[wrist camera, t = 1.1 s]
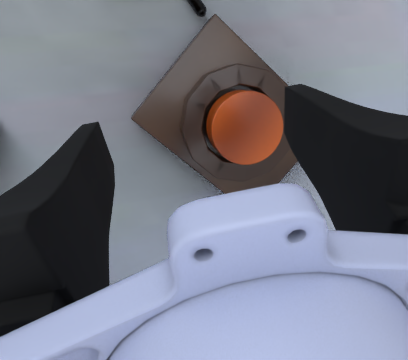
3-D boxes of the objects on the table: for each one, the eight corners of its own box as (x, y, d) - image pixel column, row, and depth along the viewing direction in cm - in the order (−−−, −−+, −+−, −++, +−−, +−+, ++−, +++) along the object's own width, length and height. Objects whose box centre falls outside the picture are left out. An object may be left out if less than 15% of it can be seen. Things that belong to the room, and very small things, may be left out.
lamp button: (285, 120, 24) (298, 124, 22) (241, 171, 24) (250, 179, 22) (237, 74, 22) (245, 74, 20) (191, 129, 23) (196, 134, 21)
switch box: (315, 122, 28) (342, 129, 24) (243, 204, 29) (258, 224, 25) (209, 18, 25) (220, 8, 21) (131, 115, 26) (129, 121, 22)
